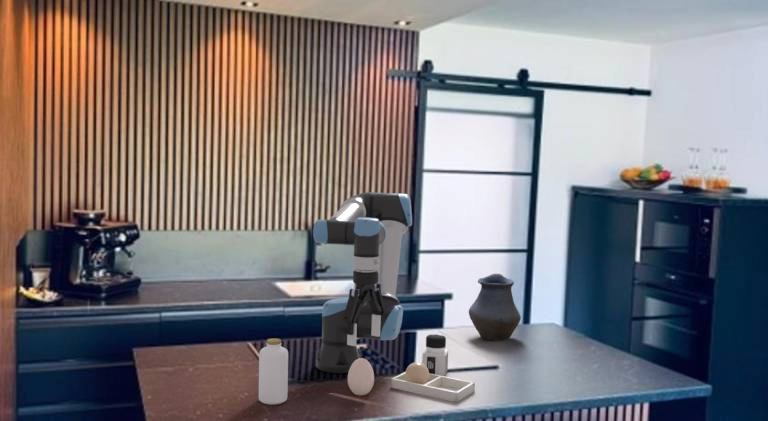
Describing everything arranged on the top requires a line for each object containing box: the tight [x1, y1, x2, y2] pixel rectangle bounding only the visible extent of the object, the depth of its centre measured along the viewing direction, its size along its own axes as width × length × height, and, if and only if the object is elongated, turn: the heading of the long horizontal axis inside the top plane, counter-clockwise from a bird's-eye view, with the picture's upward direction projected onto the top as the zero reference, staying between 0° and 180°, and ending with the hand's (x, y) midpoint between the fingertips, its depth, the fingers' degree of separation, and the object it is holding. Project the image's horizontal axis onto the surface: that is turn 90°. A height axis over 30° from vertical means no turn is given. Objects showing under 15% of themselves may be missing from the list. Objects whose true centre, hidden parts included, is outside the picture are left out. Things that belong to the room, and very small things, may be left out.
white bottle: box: [258, 338, 289, 406], centre depth 213 cm, size 8×8×18 cm
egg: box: [347, 357, 375, 396], centre depth 220 cm, size 8×8×11 cm
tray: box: [390, 371, 476, 403], centre depth 225 cm, size 23×12×4 cm, turn 59°
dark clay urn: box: [468, 273, 522, 341], centre depth 293 cm, size 21×22×25 cm
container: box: [421, 333, 449, 377], centre depth 244 cm, size 8×8×13 cm
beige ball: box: [405, 361, 429, 385], centre depth 228 cm, size 7×7×7 cm
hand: (363, 340), depth 219 cm, fingers open, 13 cm apart
